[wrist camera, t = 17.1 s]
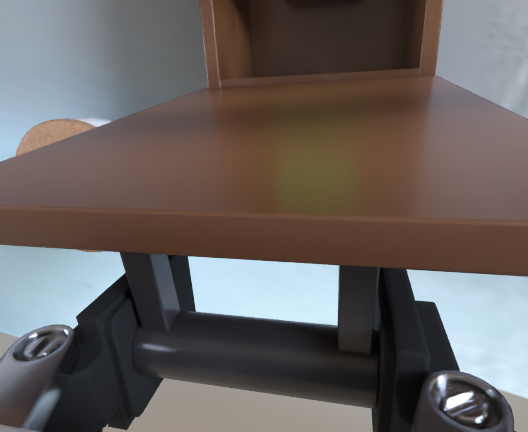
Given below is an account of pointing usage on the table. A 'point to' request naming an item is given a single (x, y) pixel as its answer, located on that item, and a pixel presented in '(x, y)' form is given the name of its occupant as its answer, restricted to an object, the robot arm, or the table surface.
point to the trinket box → (57, 134)
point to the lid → (282, 213)
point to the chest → (318, 40)
